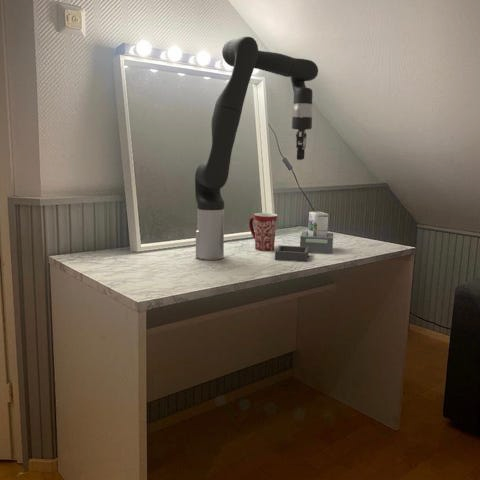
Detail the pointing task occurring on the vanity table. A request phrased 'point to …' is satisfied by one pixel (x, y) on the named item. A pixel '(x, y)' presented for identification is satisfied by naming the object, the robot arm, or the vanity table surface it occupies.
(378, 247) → the vanity table surface
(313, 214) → the syrup box
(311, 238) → the port
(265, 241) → the mug
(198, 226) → the robot arm
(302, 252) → the dark grey tray
